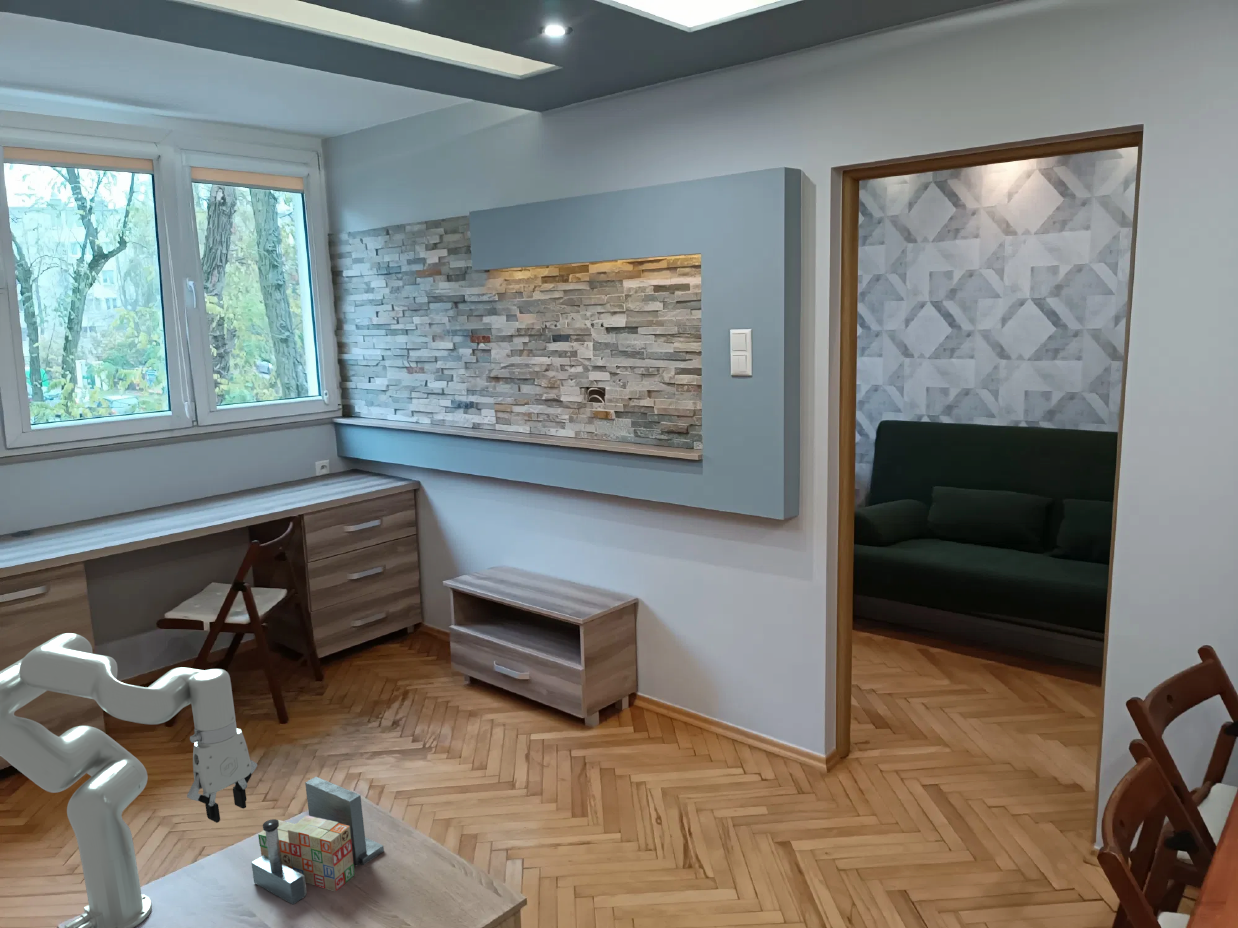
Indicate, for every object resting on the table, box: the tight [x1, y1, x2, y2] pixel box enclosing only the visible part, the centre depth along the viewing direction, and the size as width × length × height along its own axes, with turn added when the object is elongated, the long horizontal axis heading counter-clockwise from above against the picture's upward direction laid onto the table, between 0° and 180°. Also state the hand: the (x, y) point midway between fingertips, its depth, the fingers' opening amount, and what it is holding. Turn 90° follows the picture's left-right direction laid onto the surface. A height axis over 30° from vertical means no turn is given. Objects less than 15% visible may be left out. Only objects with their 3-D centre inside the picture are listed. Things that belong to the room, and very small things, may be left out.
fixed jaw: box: [304, 776, 385, 867], centre depth 206 cm, size 8×18×16 cm, turn 55°
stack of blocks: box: [257, 814, 355, 892], centre depth 198 cm, size 21×6×12 cm, turn 66°
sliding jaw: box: [251, 818, 308, 905], centre depth 192 cm, size 4×14×16 cm, turn 55°
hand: (227, 812), depth 182 cm, fingers open, 5 cm apart
